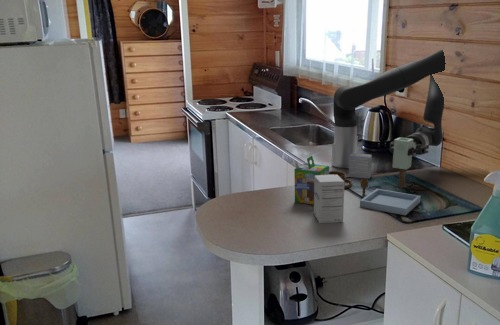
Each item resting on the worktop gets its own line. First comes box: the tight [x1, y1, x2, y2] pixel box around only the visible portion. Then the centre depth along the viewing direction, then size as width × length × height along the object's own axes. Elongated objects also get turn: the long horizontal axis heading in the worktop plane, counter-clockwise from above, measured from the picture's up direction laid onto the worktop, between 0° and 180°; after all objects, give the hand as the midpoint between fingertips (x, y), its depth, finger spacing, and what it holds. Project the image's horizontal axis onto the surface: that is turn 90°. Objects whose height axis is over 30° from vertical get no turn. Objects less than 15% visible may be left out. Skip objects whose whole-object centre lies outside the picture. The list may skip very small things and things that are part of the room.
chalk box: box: [294, 155, 330, 206], centre depth 155 cm, size 9×9×15 cm
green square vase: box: [391, 137, 413, 171], centre depth 165 cm, size 5×6×10 cm
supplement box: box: [313, 175, 345, 224], centre depth 139 cm, size 7×7×13 cm
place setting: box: [329, 170, 369, 197], centre depth 168 cm, size 18×20×6 cm
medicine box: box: [348, 153, 373, 180], centre depth 182 cm, size 8×4×9 cm, turn 65°
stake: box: [397, 168, 407, 189], centre depth 167 cm, size 2×2×13 cm
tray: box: [359, 188, 422, 216], centre depth 151 cm, size 15×15×2 cm
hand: (400, 151), depth 163 cm, fingers closed on green square vase, 5 cm apart
